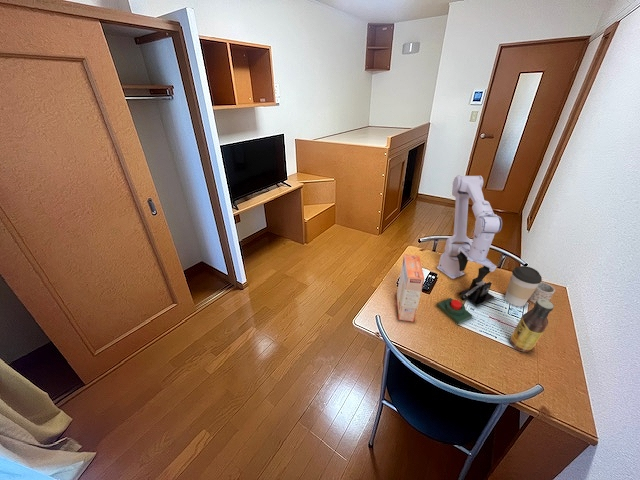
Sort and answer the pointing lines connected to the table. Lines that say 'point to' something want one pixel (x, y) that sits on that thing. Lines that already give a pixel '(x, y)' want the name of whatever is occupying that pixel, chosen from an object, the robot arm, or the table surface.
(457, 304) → the button
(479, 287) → the lever
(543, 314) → the sauce bottle
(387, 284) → the table surface
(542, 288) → the mug
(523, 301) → the coffee cup
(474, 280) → the bracket
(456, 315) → the block
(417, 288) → the cracker box
